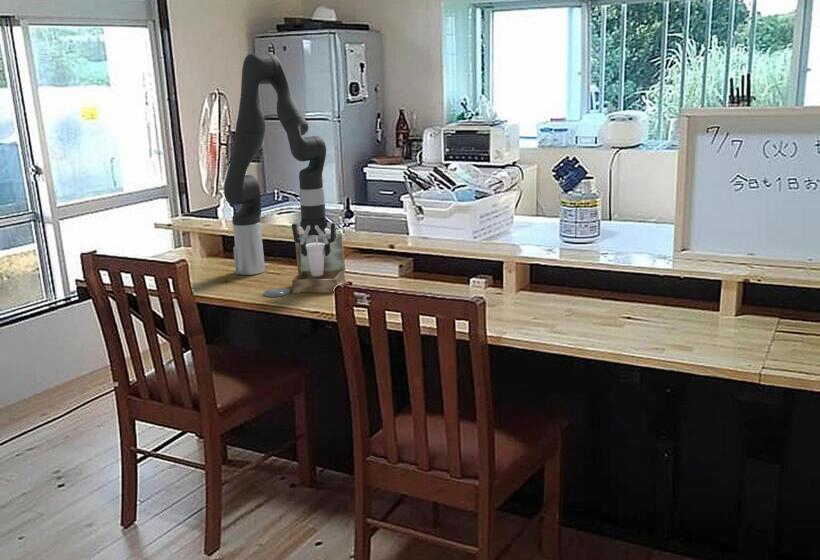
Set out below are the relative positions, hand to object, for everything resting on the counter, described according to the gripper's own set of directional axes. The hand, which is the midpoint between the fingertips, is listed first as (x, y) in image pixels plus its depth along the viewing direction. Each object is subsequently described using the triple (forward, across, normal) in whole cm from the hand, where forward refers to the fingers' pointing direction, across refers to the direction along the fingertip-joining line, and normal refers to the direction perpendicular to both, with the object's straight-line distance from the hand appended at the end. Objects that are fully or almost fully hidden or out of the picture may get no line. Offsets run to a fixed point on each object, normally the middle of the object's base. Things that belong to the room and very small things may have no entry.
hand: (316, 255), depth 253 cm
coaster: (+10, +12, +7) cm, 17 cm away
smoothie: (+6, 0, 0) cm, 6 cm away
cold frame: (+10, 0, 0) cm, 10 cm away
